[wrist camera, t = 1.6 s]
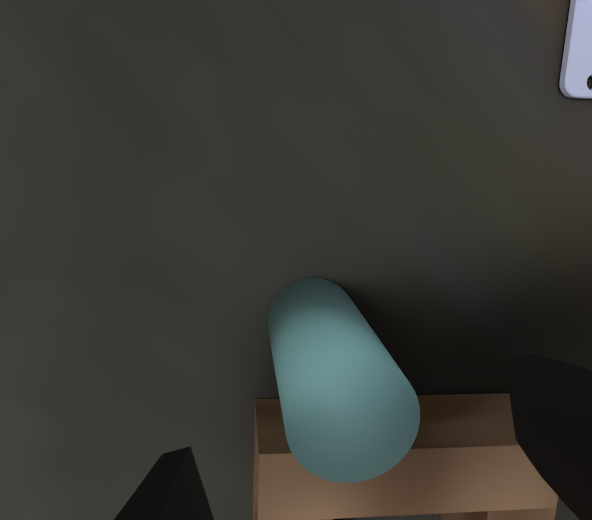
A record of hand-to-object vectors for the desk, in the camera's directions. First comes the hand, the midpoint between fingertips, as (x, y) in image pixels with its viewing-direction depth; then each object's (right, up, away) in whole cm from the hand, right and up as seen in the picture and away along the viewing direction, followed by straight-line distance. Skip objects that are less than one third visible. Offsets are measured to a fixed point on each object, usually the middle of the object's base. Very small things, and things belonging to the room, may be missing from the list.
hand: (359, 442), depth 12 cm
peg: (-1, +2, +7) cm, 8 cm away
